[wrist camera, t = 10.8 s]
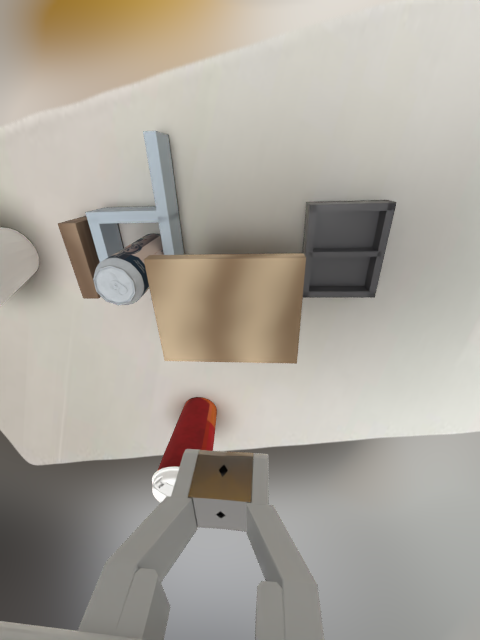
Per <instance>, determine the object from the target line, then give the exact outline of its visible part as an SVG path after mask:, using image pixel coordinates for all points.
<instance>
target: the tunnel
mask: <svg viewBox="0 0 480 640" xmlns="http://www.w3.org/2000/svg"><path fill="white" fill-rule="evenodd" d="M144 263H145V268H146V273H147V278H148V283H149V287H150V292H151V297H152V302H153V307H154V311H155V316H156V321H157V326H158V331H159V336H160V340H161V345H162V350H163V355H164V360H165V361H201V362H252V363H297V354H298V343H299V332H300V320H301V309H302V298H303V287H304V275H305V264H306V257H305V255H304V253H294V254H207V255H149V256H148V257H146V258H145V259H144Z"/></svg>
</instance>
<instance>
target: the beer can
mask: <svg viewBox="0 0 480 640" xmlns="http://www.w3.org/2000/svg"><path fill="white" fill-rule="evenodd" d="M149 255H164V252H163V246H162V240H161V235H158V234H149V235H146V236H144V237H143V238H141V239H139V240H137V241H136V242H134V243H132V244H131V245H129V246H127V247H125V248H124V249H122V250H120V251H119V252H117V253H115V254H113V255H112V256H110V257H108V258H106V259H105V260H103V261H101V262H100V263H99V264H98V266H97V267H96V270H95V273H94V278H93V280H94V284H95V288H96V292H97V293H98V294H99V295H100V296H101V297H102V298H103V299H104V300H105V301H107V302H110V303H113V304H116V305H129V304H133V303H135V302H137V301H138V300H139V299H140V298H141V297H142V295H143V294H144V293H145V292H146V291H147V290H148V289H149V288H150V287H149V283H148V278H147V273H146V268H145V263H144V259H145V258H146V257H148V256H149Z"/></svg>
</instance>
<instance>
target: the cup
mask: <svg viewBox="0 0 480 640" xmlns="http://www.w3.org/2000/svg"><path fill="white" fill-rule="evenodd" d="M38 267H39V256H38V253H37V251H36V249H35V247H34V245H33V244H32V243H31V242H30V241H29V239H27V238H26V237H25V236H24V235H23V234H21V233H19V232H18V231H16V230H13V229H10V228H4V227H0V306H1V305H2V304H3V303H4V302H6V301H7V300H8V299H9V298H10V297H11V296H12V295H13V294H14V293H15V292H16V291H17V290H18V289H19V288H20V287H21V286H22V285H23V284H24V283H25V282H26V281H27V280H28V279H29V278H30V277H31V276H32V275H34V274H35V272H36V271H37V270H38Z"/></svg>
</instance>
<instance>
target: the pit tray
mask: <svg viewBox="0 0 480 640" xmlns="http://www.w3.org/2000/svg"><path fill="white" fill-rule="evenodd" d="M395 206H396V202H393V201H389V200H371V201H332V202H307V205H306V217H305V230H304V242H303V253H304V255H305V257H306V264H305V275H304V287H303V297H375V293H376V289H377V285H378V280H379V276H380V272H381V267H382V263H383V259H384V254H385V250H386V245H387V241H388V237H389V232H390V228H391V224H392V219H393V215H394V211H395Z"/></svg>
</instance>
